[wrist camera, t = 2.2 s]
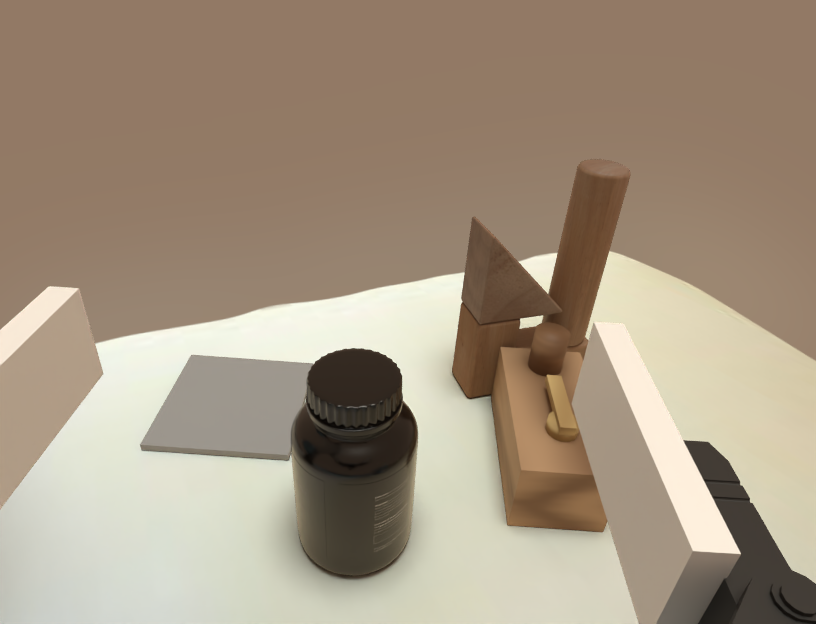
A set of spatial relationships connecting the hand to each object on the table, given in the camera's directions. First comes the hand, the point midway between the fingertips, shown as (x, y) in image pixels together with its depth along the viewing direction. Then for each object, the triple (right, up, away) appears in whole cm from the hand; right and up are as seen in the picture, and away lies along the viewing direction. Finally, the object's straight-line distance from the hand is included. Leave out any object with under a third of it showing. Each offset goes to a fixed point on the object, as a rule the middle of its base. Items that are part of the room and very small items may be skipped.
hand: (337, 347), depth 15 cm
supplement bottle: (-2, -12, +20) cm, 24 cm away
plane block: (+11, -9, +26) cm, 30 cm away
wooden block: (+11, -5, +34) cm, 36 cm away
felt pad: (-11, -6, +29) cm, 31 cm away
